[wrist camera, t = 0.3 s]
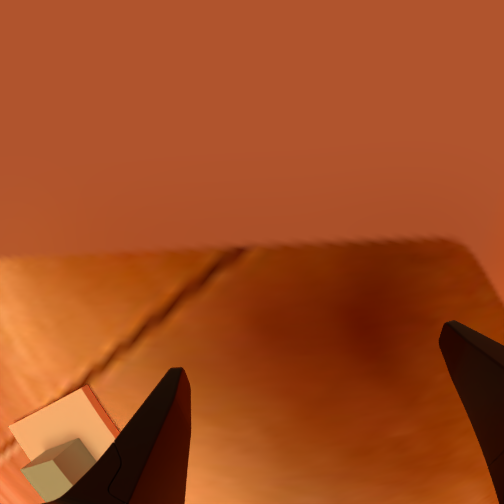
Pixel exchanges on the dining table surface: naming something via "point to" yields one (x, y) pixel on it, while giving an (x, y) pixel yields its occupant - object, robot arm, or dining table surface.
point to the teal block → (58, 469)
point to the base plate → (67, 425)
